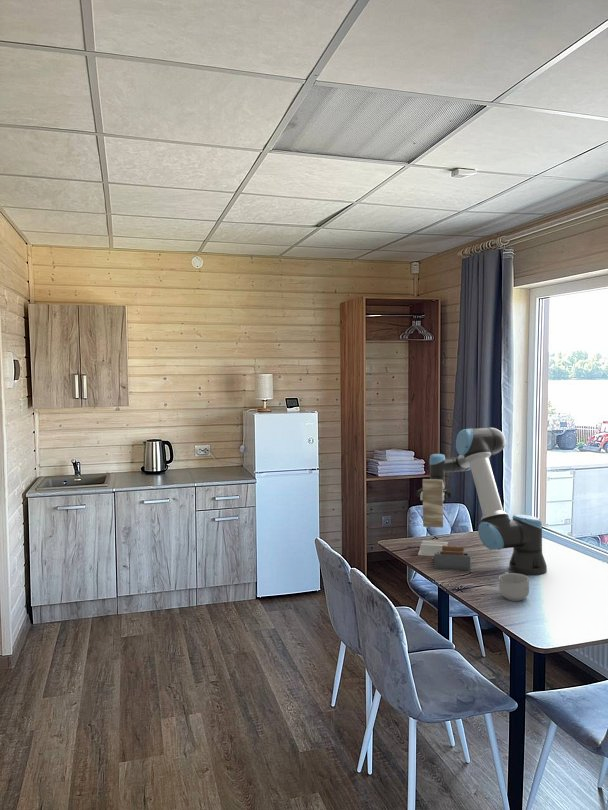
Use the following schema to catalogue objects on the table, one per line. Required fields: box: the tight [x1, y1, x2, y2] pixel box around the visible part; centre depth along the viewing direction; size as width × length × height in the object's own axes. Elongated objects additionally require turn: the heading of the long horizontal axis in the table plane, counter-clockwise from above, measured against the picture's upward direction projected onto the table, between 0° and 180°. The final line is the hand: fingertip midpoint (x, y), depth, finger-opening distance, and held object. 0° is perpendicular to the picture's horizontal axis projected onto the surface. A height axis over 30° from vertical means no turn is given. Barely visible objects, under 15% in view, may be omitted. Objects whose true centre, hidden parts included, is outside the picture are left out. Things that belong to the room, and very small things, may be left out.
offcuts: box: [442, 545, 465, 555], centre depth 262 cm, size 6×9×8 cm
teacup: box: [498, 571, 530, 602], centre depth 229 cm, size 14×11×8 cm
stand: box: [417, 540, 449, 557], centre depth 283 cm, size 10×14×6 cm
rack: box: [433, 551, 472, 572], centre depth 265 cm, size 15×15×8 cm
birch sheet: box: [422, 478, 444, 529], centre depth 282 cm, size 2×9×22 cm, turn 73°
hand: (431, 497), depth 277 cm, fingers closed on birch sheet, 9 cm apart
